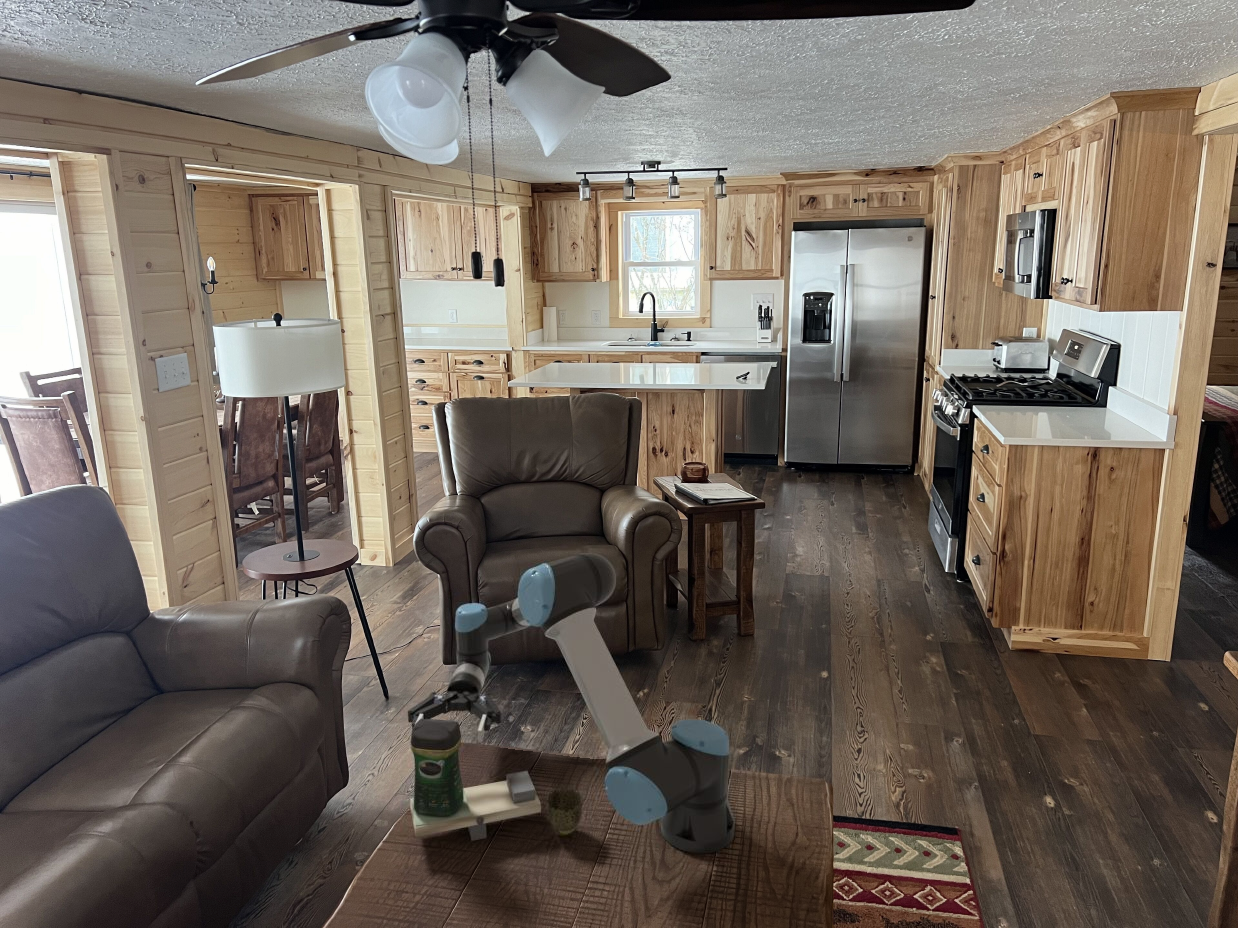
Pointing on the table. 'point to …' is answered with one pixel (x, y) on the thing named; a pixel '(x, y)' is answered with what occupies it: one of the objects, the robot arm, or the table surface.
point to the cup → (564, 810)
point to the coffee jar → (437, 767)
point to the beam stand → (477, 831)
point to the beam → (484, 805)
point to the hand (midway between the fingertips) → (447, 735)
